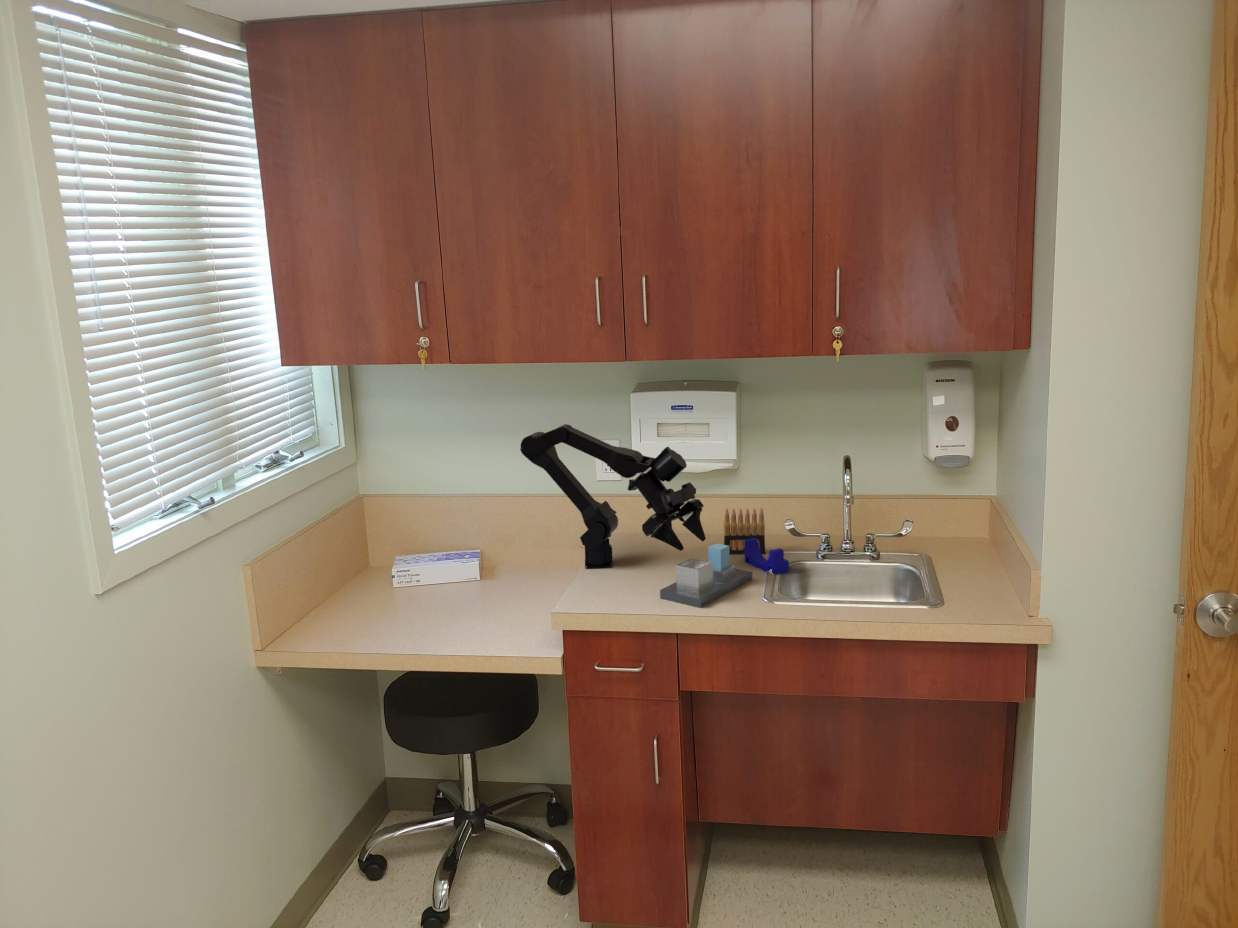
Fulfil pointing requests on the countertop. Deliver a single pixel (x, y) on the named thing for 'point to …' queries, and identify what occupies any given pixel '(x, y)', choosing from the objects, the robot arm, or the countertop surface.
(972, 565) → the countertop surface
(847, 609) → the countertop surface
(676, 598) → the grey peg holder base
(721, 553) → the plug
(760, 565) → the cable clip
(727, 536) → the ammunition clip
